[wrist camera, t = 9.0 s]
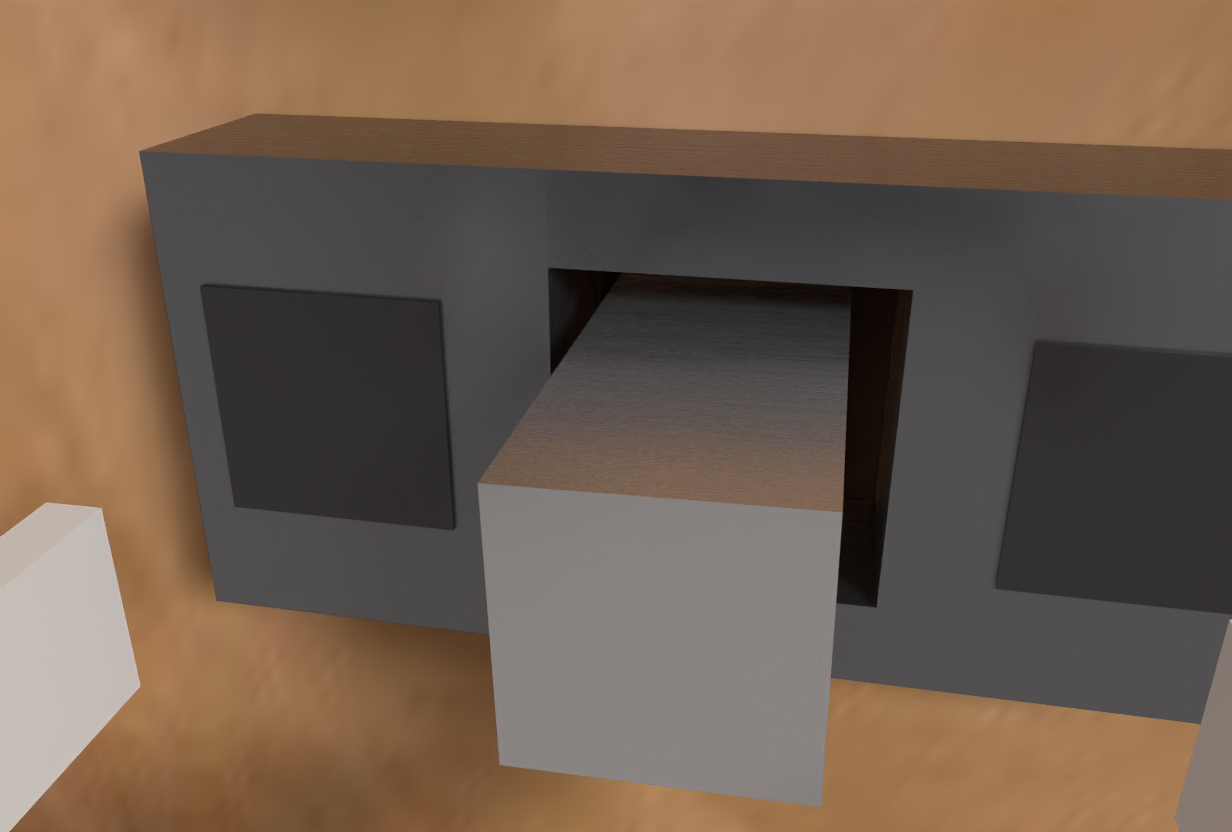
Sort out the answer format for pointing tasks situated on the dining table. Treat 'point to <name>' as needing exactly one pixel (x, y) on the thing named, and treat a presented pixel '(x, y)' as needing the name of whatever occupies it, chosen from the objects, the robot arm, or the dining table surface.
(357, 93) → the dining table surface
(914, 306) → the grey slotted base plate
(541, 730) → the light grey rectangular block
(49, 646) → the robot arm
